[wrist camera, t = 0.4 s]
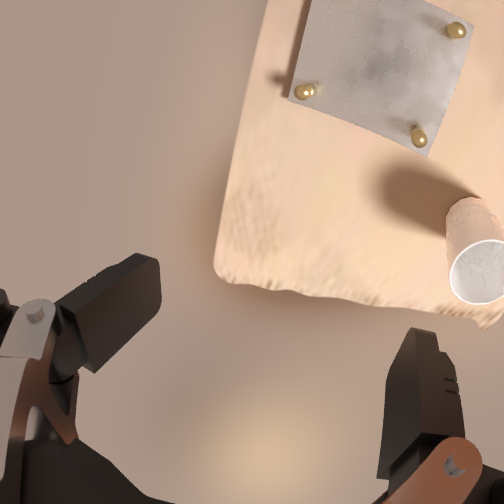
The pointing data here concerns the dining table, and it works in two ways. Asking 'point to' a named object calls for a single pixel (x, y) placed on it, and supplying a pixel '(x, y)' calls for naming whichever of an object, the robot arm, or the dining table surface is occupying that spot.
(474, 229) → the white cup
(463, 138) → the dining table surface
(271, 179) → the dining table surface
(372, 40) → the plate
